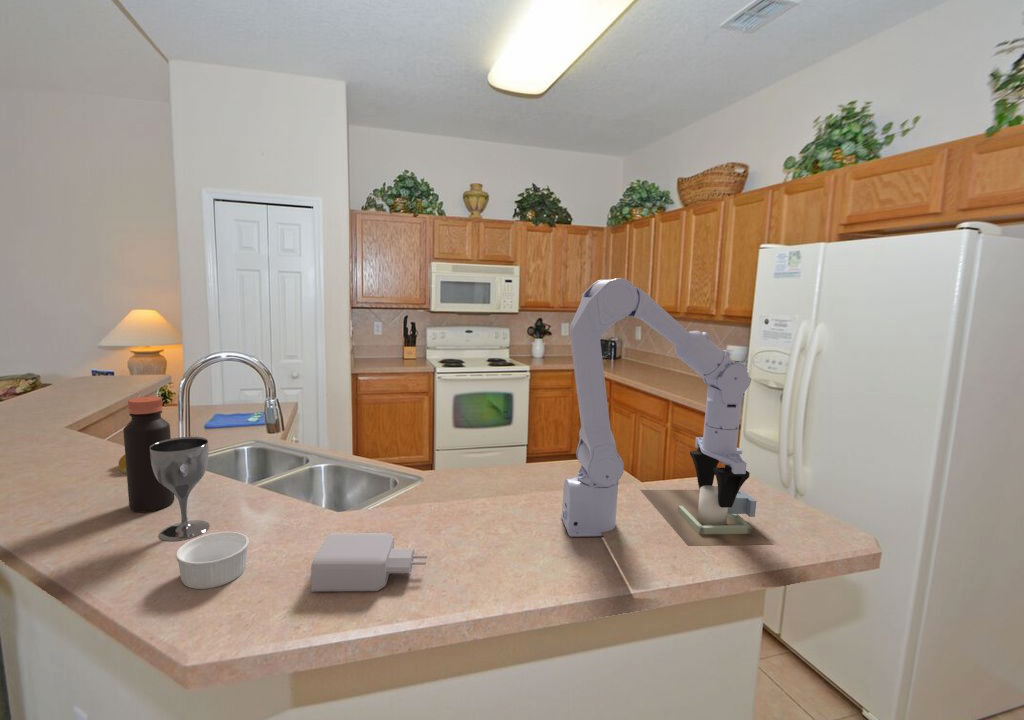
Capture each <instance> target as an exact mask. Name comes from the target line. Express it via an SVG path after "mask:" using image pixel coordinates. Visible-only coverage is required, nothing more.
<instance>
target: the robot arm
mask: <svg viewBox="0 0 1024 720" xmlns="http://www.w3.org/2000/svg"><path fill="white" fill-rule="evenodd" d="M626 317H628V318H634V319H635V318H636V319H639V320H641V321H642V322H643V323H645V324H646V325H647V326H648V327H650V328H651V329H652V330H654V331H655V332H657V333H658V334H659V335H660V336H662V337H663V338H664V339H666V340H667V341H669V343H671V344H673V345H674V354H675V356H676V357H677V358H678V359H679V360H680V361H681V362H683V363H684V364H686V365H687V367H689V368H690V369H691V370H693V372H695V373H696V374H698V375H699V376H700V377H701V378H702V381H703V383H704V384H705V385H707V391H706V400H705V401H706V403H705V413H704V414H705V415H704V423H703V436H702V437H701V436H698V437H697V436H695V441H694V442H695V443H694V447H695V448H696V450H690V451H689V455H690V457H691V459H692V462H693V465H694V467H695V468H694V469H695V473H696V478H697V484H698V490H700V487H702V486H706V485H711V486H714V485H713V484H714V479H716V483H717V487H718V503H719V506H720V507H722V508H728V507H732V506H733V503H734V501H735V498H736V496H737V494H738V491H740V490H741V488H742V486H743V484H744V483H745V482H746V481H747V480H748V479H750V471H748V470H747V462H746V461H744V460H743V457H741V456H742V454H743V449H741V448H739V447H738V441H739V430H740V429H739V428H740V420H741V419H740V418H741V410H742V401H743V400H744V394H745V392H746V391H747V390H748V389H749V387H750V386H751V382H752V378H751V377H750V375H749V372H748V368H747V367H746V366H745V364H743V363H742V362H739V361H737V360H732V359H731V357H730V356H731V353H730V352H729V351H728V350H726V349H721V348H720V347H719V346H718V345H716V343H714V342H713V341H711V339H712V336H711V335H710V334H709V333H708V332H705V331H703V332H701V331H700V330H691V331H688V330H687V329H686V328H685V327H684V326H682V325H681V323H680V322H679V321H678V320H676V319H675V318H674V317H672V315H671V314H670V313H668V311H667V310H665V309H664V308H663V307H662V306H661V305H660V304H658V303H657V302H656V301H655V300H654V299H653V297H651V296H650V295H649V294H648V293H646V292H645V291H644V290H643V289H641V288H639V287H635V285H634V284H633V283H632V282H631V281H629V280H628V279H626V278H620V277H619V278H613V279H608V278H604V279H599V280H596V281H595V282H593V283H592V284H591V285H590V286H589V287H588V288H587V289H586V290H585V291H584V292H583V293H582V295H581V299H580V303H579V305H578V307H577V310H576V312H575V314H574V316H573V319H572V321H571V322H570V325H569V338H570V346H571V355H572V363H573V370H574V371H573V372H574V379H575V380H574V381H575V387H576V388H575V389H576V395H577V402H578V411H579V419H580V421H579V422H580V429H579V431H578V435H579V440H578V444H577V447H576V459H577V460H578V462H579V464H580V465H581V467H580V468H579V470H578V472H577V476H575V477H572V478H566V479H565V480H564V482H563V490H562V509H561V510H562V511H561V520H562V522H563V524H564V526H565V528H566V531H567V534H568V536H569V537H573V538H575V537H580V538H581V537H604V535H603V533H606V532H610V531H612V530H614V529H615V528H616V523H617V521H616V520H617V510H618V509H617V506H618V493H619V482H620V479H621V478H622V477H623V475H624V469H625V466H624V465H625V463H624V461H623V459H622V457H621V456H620V454H619V452H618V450H617V444H616V440H615V437H614V434H613V432H612V430H611V429H612V428H611V421H610V413H609V405H608V396H607V395H608V394H607V389H606V388H607V387H606V379H605V378H606V377H605V371H604V370H605V369H604V362H603V361H604V360H603V352H602V345H601V344H602V343H601V337H603V336H604V335H605V333H606V332H607V331H608V330H609V329H610V328H611V327H612V326H613V324H615V323H617V322H619V321H621V320H623V319H624V318H626ZM719 462H720V463H721V464H723V465H724V467H718V464H719Z"/></svg>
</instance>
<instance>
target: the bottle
mask: <svg viewBox="0 0 1024 720" xmlns="http://www.w3.org/2000/svg"><path fill="white" fill-rule="evenodd" d="M127 407H128V409H127V410H128V414H129V416H130V417H131V420H130V421H129V422H128V423H127V424H126V426H124V428H123V441H124V455H125V458H126V471H127V473H126V479H127V481H126V484H127V494H128V495H127V498H128V506H129V509H130V511H133V512H136V513H147V512H149V513H150V512H155V511H159V510H162V509H165V508H167V507H169V506H170V505H172V504H173V503H174V501H175V495H174V494H173V493H172V492H171V491H170V490H168V489H167V488H165V487H164V486H162V485H161V484H160V483H159V482H158V481H157V479H156V477H155V475H154V472H153V469H152V465H151V460H150V446H151V445H153V444H154V443H157V442H160V441H163V440H167V439H172V438H171V425H170V423H169V422H168V421H167V420H165V419H164V418H163V417H162V415H161V414H162V413H163V399H162V397H160V396H140V397H135V398H130V399H129V400H127Z"/></svg>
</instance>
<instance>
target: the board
mask: <svg viewBox="0 0 1024 720" xmlns="http://www.w3.org/2000/svg"><path fill="white" fill-rule="evenodd" d="M640 491H641V493H642V494H643V495H644V496H645V498H646V499H647V500H648V501H649V503H651V505H652V506H653V507H654V508H655V509H656V511H657V512H659V514H660V515H661V516H662V517H663V519H664V520H665V521H666V522H667V523H668V524H669V526H670V527H671V528H672V529H673V530H674V531H675V533H676V534H677V535H678V536H679V537H680V538H681V539H682V541H683V542H684V543H685V544H686V546H688V547H689V546H690V547H694V546H695V547H696V546H697V547H698V546H701V547H702V546H705V547H707V546H765V545H766V546H770V545H771V546H774V543H773V542H772V541H770V540H769V539H768V538H766V537H765V535H763V534H762V533H761V532H759V531H758V530H757V529H755V527H754V526H752V525H751V524H750V523H749V522H747V521H746V520H745V519H744V518H743V517H741V516H740V514H737V515H738V516H739V517H741V518H742V519H743V520H744V521H745V522H747V523H748V524H749V525H750V526H751V527H752V534H698V533H697V532H696V531H695V529H694V528H693V527H692V526H691V525H690V524H689V523H688V522H687V521H686V520H685V519H684V518H683V517H682V516H681V515H680V514H679V512H678V506H683V507H684V508H685V509H686V510H687V511H688V512H689V513H690V514H691V515H692V516H693V517H694V518H695V519H696V520H697V516H698V506H699V495H700V489H640ZM697 521H698V520H697ZM700 524H701V523H700ZM701 525H702V524H701ZM727 525H737V524H735V523H734V522H733V521H732V520H731V519H730V518H729V517H728V516H727ZM702 526H704V525H702Z"/></svg>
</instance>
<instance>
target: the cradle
mask: <svg viewBox="0 0 1024 720" xmlns="http://www.w3.org/2000/svg"><path fill="white" fill-rule="evenodd" d="M678 512H679V514H680V515H681V516H682V517H683V518H684V519H685V520H686V521H687V522H688V523H689V524H690V525H691V526H692V527H693V528H694V529H695V531H696V532H697V533H698V534H752V527H753V526H752V525H751V524H750V523H749V522H748V521H746V520H745V519H744V518H743V517H741V516H740V515H739V514H738V515H739V516H740V517H739V516H738V515H737V514H728V515H727V516H728V517H729V518H730V519H731V520H732V521H733V522H734V523H735V524H737V525H716V526H702V525H701V524H700V523H699V522H698V521H697V520H696V519H695V518H694V517H693V516H692V515H691V514H690V513H689V512H688V511H687V510H686V509H685V508H684V507H683V506H678ZM742 518H743V519H744V520H745V521H746V522H745V521H744V520H743V519H742ZM748 523H749V524H750V525H751V526H752V527H751V526H750V525H749V524H748Z"/></svg>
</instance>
